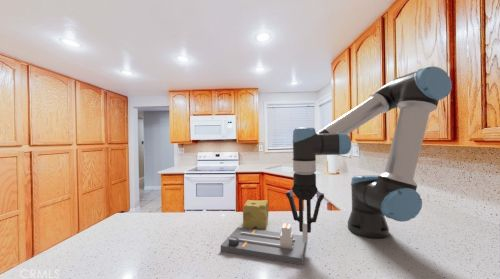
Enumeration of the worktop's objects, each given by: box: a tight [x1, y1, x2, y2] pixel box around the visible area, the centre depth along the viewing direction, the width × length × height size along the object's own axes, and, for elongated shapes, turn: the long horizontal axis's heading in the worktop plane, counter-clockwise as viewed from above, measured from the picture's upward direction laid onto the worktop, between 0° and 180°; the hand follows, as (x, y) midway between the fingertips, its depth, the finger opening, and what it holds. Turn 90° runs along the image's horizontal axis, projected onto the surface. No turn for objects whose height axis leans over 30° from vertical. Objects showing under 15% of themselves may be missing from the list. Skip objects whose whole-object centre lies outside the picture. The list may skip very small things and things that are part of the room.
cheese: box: [242, 199, 269, 230], centre depth 97 cm, size 10×11×10 cm
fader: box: [280, 222, 294, 246], centre depth 75 cm, size 4×4×6 cm
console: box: [220, 226, 307, 266], centre depth 77 cm, size 28×16×4 cm, turn 71°
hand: (305, 241), depth 73 cm, fingers closed
